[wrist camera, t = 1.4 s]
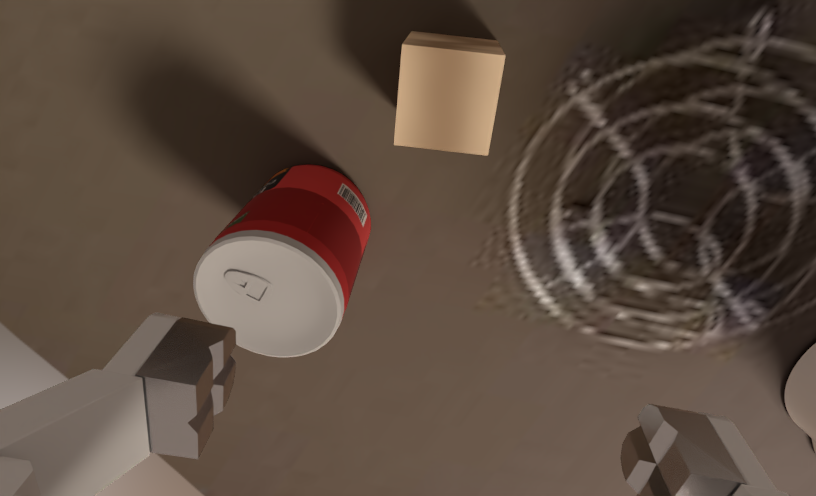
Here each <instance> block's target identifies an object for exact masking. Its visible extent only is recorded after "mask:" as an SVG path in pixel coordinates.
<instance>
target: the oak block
mask: <svg viewBox="0 0 816 496" xmlns="http://www.w3.org/2000/svg"><path fill="white" fill-rule="evenodd" d="M505 57H506V55H505V53H504V52H503V50H502V48H501V47H500V45H499V43H498V41H497V40H489V39H480V38H471V37H462V36H452V35H443V34H434V33H425V32H416V31H411V33H410V34H409V35H408V37H407V38H406V39H405V41H404V42H403V43H402V50H401V63H400V75H399V87H398V100H397V112H396V125H395V137H394V145H400V146H409V147H417V148H426V149H434V150H443V151H452V152H460V153H469V154H477V155H486V156H488V152H489V147H490V141H491V136H492V130H493V124H494V119H495V113H496V108H497V102H498V96H499V91H500V85H501V79H502V74H503V68H504V63H505Z"/></svg>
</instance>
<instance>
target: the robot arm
mask: <svg viewBox="0 0 816 496" xmlns="http://www.w3.org/2000/svg"><path fill="white" fill-rule="evenodd" d="M235 345H236V331H235V329H234V328H232V327H227V326H222V325H217V324H212V323H207V322H203V321H198V320H193V319H188V318H183V317H182V318H180V317H176V316H171V315H166V314H161V313H157V312H156V313H154V314H152V315H150V316H148V317H147V318H146V320H145V321H144V322H143V323H142V324H141V325H140V327H139V328H138V329H137V330H136V331H135V332H134V333H133V335H132V336H131V337H130V338H129V339H128V340H127V342H126V343H125V344H124V345H123V346H122V347H121V349H120V350H119V351H118V352H117V353H116V354H115V355H114V357H113V358H112V359H111V360H110V361H109V362H108V364H107V365H106V366H105V367H104V368H103V369H102V370H97V369H92V370H90V371H88V372H85V373H83V374H81V375H78V376H76V377H74V378H71V379H69V380H67V381H65V382H62V383H60V384H58V385H55V386H53V387H51V388H49V389H47V390H44V391H42V392H40V393H37V394H35V395H32V396H30V397H28V398H26V399H23V400H21V401H19V402H16V403H14V404H12V405H10V406H7V407H5V408H3V409H0V496H95V495H96V494H98V493H99V492H100V491H102V490H103V489H105V488H106V487H107V486H109V485H110V484H111V483H113V482H114V481H115V480H117V479H118V478H120V477H121V476H122V475H124V474H125V473H126V472H128V471H129V470H130V469H132V468H133V467H135V466H136V465H137V464H138V463H140V462H141V461H143V460H144V459H145V458H147V457H148V456H149V455H150V452H152V453H159V454H166V455H173V456H180V457H187V458H194V459H199V457H200V455H201V453H202V451H203V449H204V447H205V445H206V443H207V441H208V439H209V437H210V435H211V433H212V431H213V429H214V415H216V414H218V413H219V412H221V411H223V409H224V407H225V405H226V403H227V401H228V399H229V396H230V393H231V390H232V387H233V383H234V377H235V369H236V362H235V360H234V359H233V358H232V356H231V353H232V351H233V349H234V347H235ZM784 398H785V405H786V409H787V412H788V414H789V416H790V417H791V419H792V420H793V421H794V422H795V423H796V424H797V425H798V426H799V427H800V428H801V429H802V430H803V431H805V432H806V433H807V434H808V435H809V436H810V437H811V438H812V443H813V447H814V451H815V453H816V343H815V344H814V345H813V346H812V347H811V348H809V349H808V350H807V351H806V353H805V354H804V355H803V356H802V357H801V358H800V360H799V361H798V362H797V364H796V365H795V366H794V368H793V370H792V372H791V373H790V376H789V378H788V381H787V383H786V387H785V396H784ZM638 420H639V423H640V427H638V428H636V429H634V430H632V431H631V432H629V433H628V434H627V436H626V438H625V440H624V442H623V444H622V450H621V466H622V471H623V474H624V477H625V480H626V482H627V483H628V484H629V485H630V486H631V487H632V488H633V489H634V490H635V491H636V492H637V493H638V494H637V496H790V495H789V494H787V493H786V492H782V491H778V490H777V489H776V487H775V486H774V484H773V483H772V481H771V480H770V478H769V477H768V475H767V474H766V472H765V471H764V469H763V468H762V466H761V464H760V463H759V461H758V460H757V458H756V457H755V455H754V454H753V452H752V451H751V449H750V448H749V446H748V445H747V443H746V441H745V440H744V438H743V437H742V435H741V434H740V432H739V431H738V429H737V428H736V426H735V425H734V423H733V422H732V421H731V420H729V419H728V418H727V417H725V416H720V415H714V414H708V413H702V412H699V413H697V412H693V411H688V410H682V409H676V408H670V407H665V406H659V405H653V404H648V405H647V406H645V407H644V408H643V409H642V410H641V412H640V414H639V415H638Z"/></svg>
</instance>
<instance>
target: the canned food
mask: <svg viewBox="0 0 816 496" xmlns="http://www.w3.org/2000/svg"><path fill="white" fill-rule="evenodd" d="M370 230H371V218H370V214H369V209H368V206H367V204H366V201H365V199H364V197H363V195H362V194H361V192H360V191H359V189H358V188H357V187H356V186H355V185H354V184H353V183H352V182H351V181H350V180H349V179H348V178H347V177H345V176H344V175H342V174H341V173H339V172H337V171H335V170H333V169H331V168H327V167H324V166H320V165H311V164H308V165H298V166H293V167H290V168H286V169H284V170H282V171H280V172H278V173H276V174H275V175H274V176H273V177H272V178H271V179H269V180H268V181H267V183H266V184H265V185H264V186H263V187H262V188H261V189H260V190H259V191H258V192H257V194H256V195H255V196H254V197H253V198H252V199H251V200H250V201H249V202H248V203H247V204H246V206H245V207H244V208H243V209H242V210H241V211H240V212H239V213H238V214H237V215H236V217H235V218H234V219H233V220H232V221H231V222H230V223H229V224H228V225H227V226H226V227H225V229H224V230H223V231H222V232H221V233H220V234H219V235H218V236H217V237H216V239H215V240H214V241H213V242H212V244H211V245H210V246H209V247H208V248H207V249H206V251H205V252H204V254H203V255H202V257H201V259H200V261H199V262H198V264H197V266H196V269H195V273H194V281H193V288H194V293H195V298H196V300H197V303H198V305H199V307H200V310H201V311H202V313H203V314H204V316H205V317H206V319H207V320H208V321H209V322H210V323H212V324H217V325H222V326H227V327H232V328H234V329H235V331H236V344H237V345H238V346H240V347H242V348H245V349H247V350H250V351H252V352H255V353H259V354H262V355H266V356H273V357H296V356H301V355H306V354H308V353H311V352H314V351H316V350H318V349H319V348H321V347H322V346H324V345H325V344H326V343H327V342H328V341H329V340H330V339H331V338H332V337H333V336H334V334H335V332H336V330H337V328H338V327H339V325H340V323H341V321H342V318H343V315H344V312H345V310H346V307H347V304H348V301H349V298H350V295H351V292H352V288H353V285H354V282H355V279H356V276H357V273H358V270H359V266H360V263H361V260H362V257H363V254H364V251H365V248H366V244H367V241H368V238H369V234H370Z"/></svg>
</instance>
